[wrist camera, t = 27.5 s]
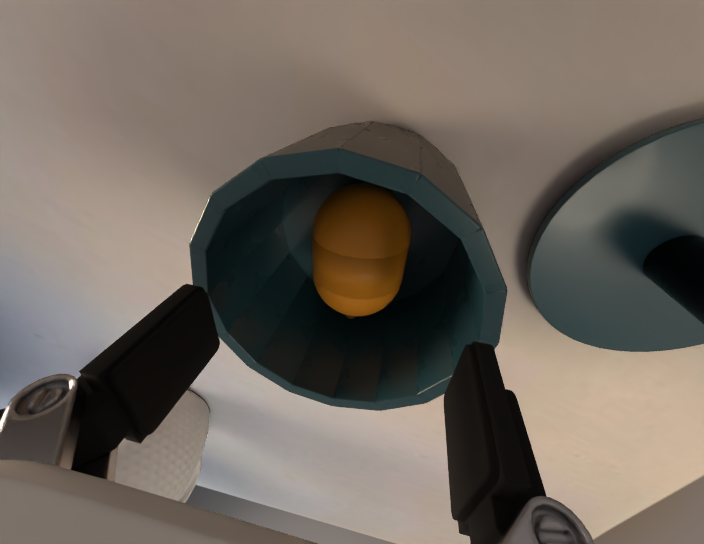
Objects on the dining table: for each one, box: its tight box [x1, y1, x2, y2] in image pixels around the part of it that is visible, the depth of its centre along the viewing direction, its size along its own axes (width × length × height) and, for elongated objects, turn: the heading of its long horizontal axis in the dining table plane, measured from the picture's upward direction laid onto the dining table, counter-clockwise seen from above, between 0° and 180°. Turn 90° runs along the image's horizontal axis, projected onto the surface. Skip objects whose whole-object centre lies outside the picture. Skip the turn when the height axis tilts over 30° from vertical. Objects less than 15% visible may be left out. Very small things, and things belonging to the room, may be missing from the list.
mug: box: [115, 390, 210, 503], centre depth 31 cm, size 15×11×13 cm
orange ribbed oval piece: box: [313, 183, 411, 319], centre depth 16 cm, size 8×5×5 cm
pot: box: [189, 121, 507, 411], centre depth 15 cm, size 12×12×8 cm
